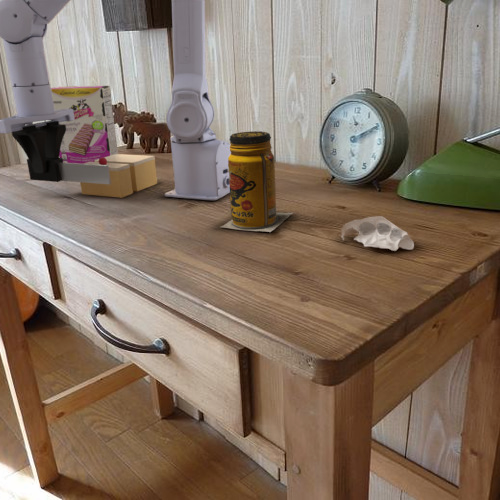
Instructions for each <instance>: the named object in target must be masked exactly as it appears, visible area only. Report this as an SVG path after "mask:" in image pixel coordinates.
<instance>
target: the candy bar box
mask: <svg viewBox="0 0 500 500" xmlns="http://www.w3.org/2000/svg"><path fill="white" fill-rule="evenodd" d="M51 91H52V96H53V102H54V108H55V110H61V109H73V112H74V118H75V120H74V121H65V122H60V123H59V124H61V125H66V132H65V134H64V137H63V140H62V143H61V148H60V154H59V158H63V163H79V164H84V163H87V162H95V161H94V160H97V159H100V158H102V157H107V156H111V155H114V154H119V149H118V141H117V134H116V126H115V117H114V111H113V110H114V109H113V102H112V101H113V100H112V92H111V86H110V85H108V84H107V85H68V86H66V85H64V86H53V87H51Z"/></svg>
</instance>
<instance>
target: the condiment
mask: <svg viewBox="0 0 500 500" xmlns="http://www.w3.org/2000/svg"><path fill="white" fill-rule="evenodd" d="M271 139H272V136H271V134H270V132H266V131H259V130H257V131H253V130H252V131H241V132H236V133H235V132H234V133H231V135H230V136H229V144H230V151H231V154H230V156H229V157H228V167H229V170H228V172H229V183H230V193H229V200H230V201H229V202H230V214H231V220H229V221H227V223H225V224H223V225H221V228H223V229H231V230H239V231H247V232H249V231H250V232H267V233H268V232H269V233H271V232H273V231H274V230H276V229H277V228H278V227H280V225H282V224H283V223H284V222H285V220H287V219H289V217H290V216H291V215H293V214H294V212H277V198H276V196H277V195H276V193H277V192H276V167H275V163H276V162H275V161H276V160H275V155H274V154H273V151H272V148H273V147H272V144H271Z"/></svg>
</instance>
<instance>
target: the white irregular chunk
mask: <svg viewBox="0 0 500 500" xmlns="http://www.w3.org/2000/svg"><path fill="white" fill-rule="evenodd" d="M355 234H357V235H356V236H355V237H354V238H353V241H356V242H358V243H361V244H363V247H366V248H367V247H372V248H379V249H387V250H388V249H389V250H391V251H392V252H393V251H394V252H396V251H397V250H398V249H399V248H401V249H403V250H409V251H410V250H414V248H415V242H414V241H413V239H412V238H411V236H410V234H409V233H408V232H407V231H406V230H403V229H402V228H401V227H398V226H397V225H395V224H394V222H391V221H390V220H388V219H387V218H386V217H385V216H382V215H374V216H369V217H363V218H361V219H353V220H350V221H348V222H346V223H344V224H343V225H342V226H341V229H340V235H341V236H340V237H341V240H342V241H345V236H352V235H355Z"/></svg>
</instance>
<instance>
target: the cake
mask: <svg viewBox="0 0 500 500" xmlns="http://www.w3.org/2000/svg"><path fill="white" fill-rule="evenodd" d="M104 158H106V159H107V163H118V164H129V166H130V174H131V182H132V191H133V192H140V191H142V190H145V189H147V188H149V187H152V186H155V185H158V178H157V168H156V160H155V159H156V158H155V155H144V154H142V155H141V154H124V153H118V154H114V155H111V156H107V157H104ZM94 161H95V162H99V159H97V160H94Z"/></svg>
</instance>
